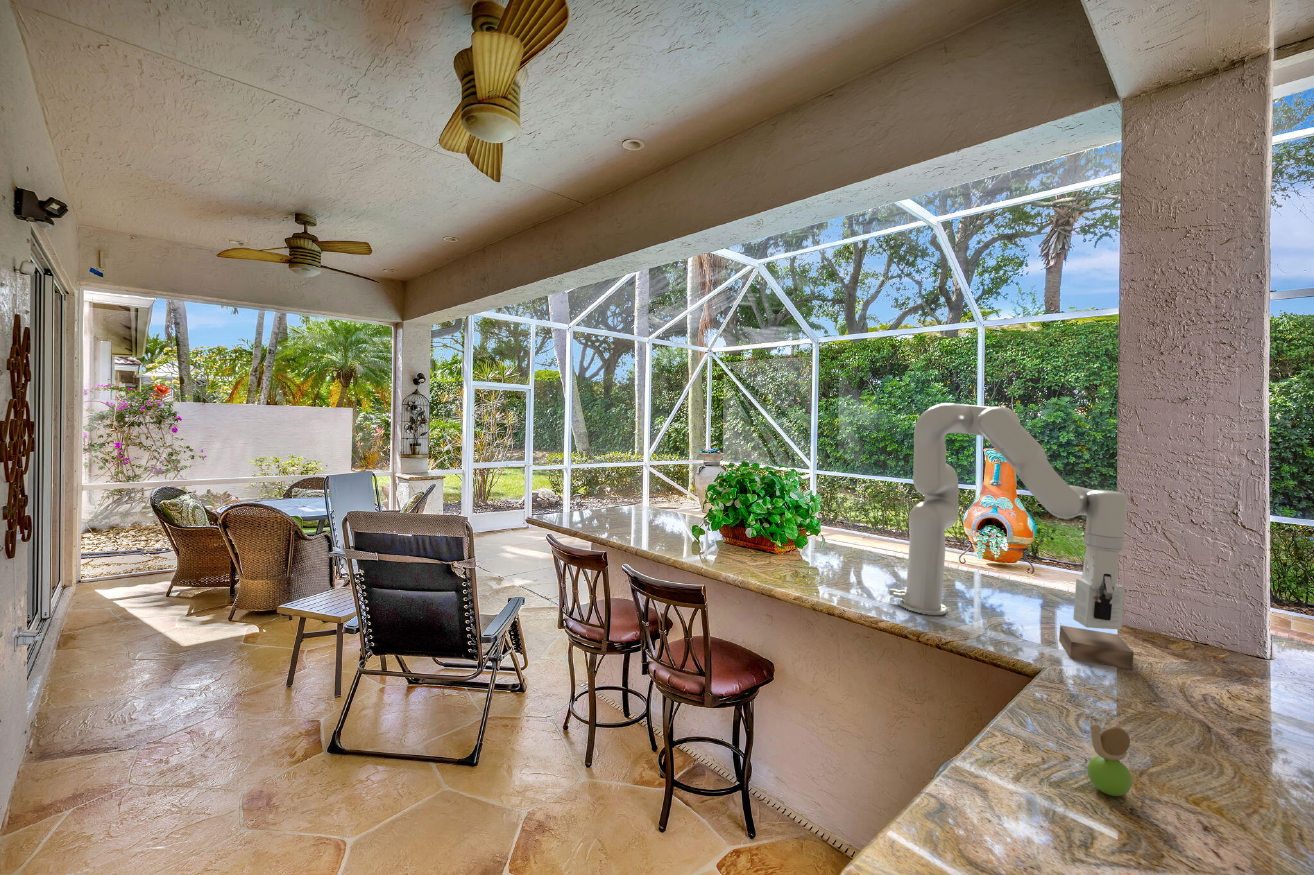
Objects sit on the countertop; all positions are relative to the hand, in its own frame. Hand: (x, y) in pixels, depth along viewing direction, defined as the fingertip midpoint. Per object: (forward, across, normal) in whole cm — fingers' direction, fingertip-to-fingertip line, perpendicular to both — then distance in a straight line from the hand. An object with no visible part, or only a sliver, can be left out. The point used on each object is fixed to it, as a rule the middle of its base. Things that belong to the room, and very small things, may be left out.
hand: (1097, 613), depth 143 cm
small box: (+3, 0, 0) cm, 3 cm away
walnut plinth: (+10, 0, 0) cm, 10 cm away
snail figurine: (+10, +64, -13) cm, 66 cm away
